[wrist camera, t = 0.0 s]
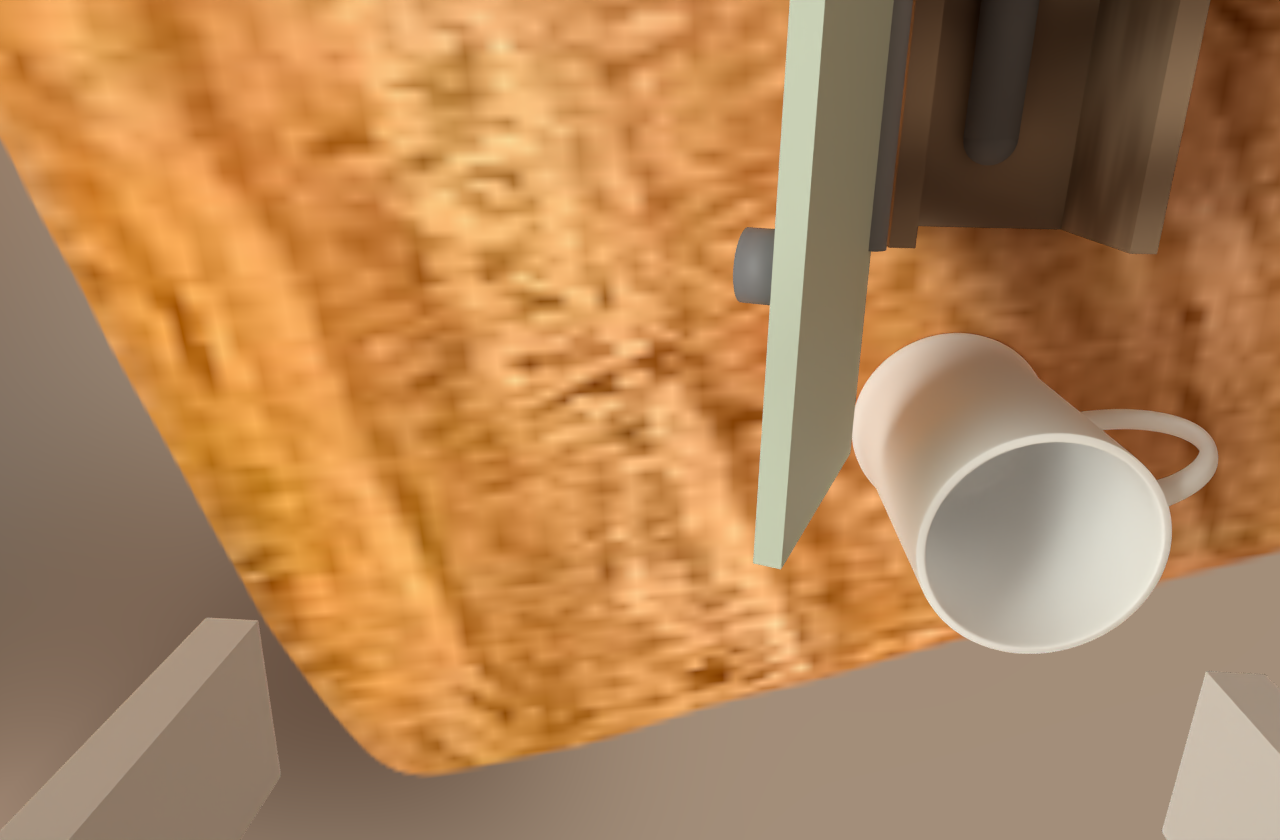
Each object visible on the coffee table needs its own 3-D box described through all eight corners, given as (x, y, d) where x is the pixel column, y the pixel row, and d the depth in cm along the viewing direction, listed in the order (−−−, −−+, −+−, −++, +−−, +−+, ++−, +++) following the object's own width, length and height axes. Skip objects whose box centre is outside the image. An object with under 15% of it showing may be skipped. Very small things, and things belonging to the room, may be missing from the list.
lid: (954, -364, 25) (864, -348, 26) (900, -621, 16) (767, -583, 17) (866, 451, 33) (800, 440, 34) (798, 573, 24) (712, 554, 25)
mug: (1118, 301, 38) (1296, 385, 26) (1124, 482, 40) (1288, 629, 29) (839, 351, 39) (894, 450, 28) (863, 522, 42) (922, 677, 31)
